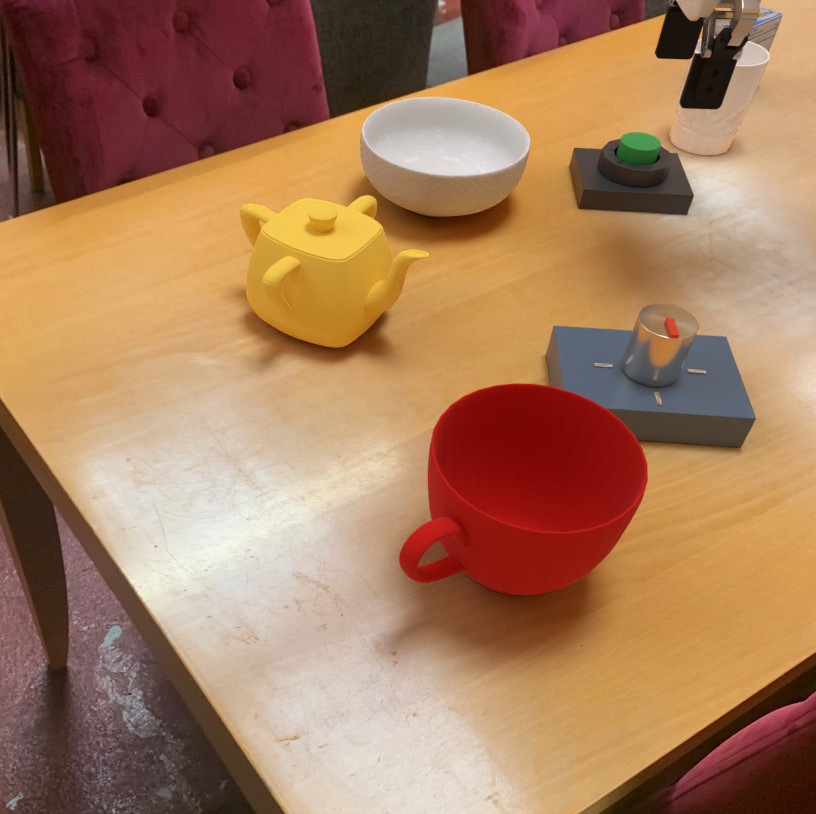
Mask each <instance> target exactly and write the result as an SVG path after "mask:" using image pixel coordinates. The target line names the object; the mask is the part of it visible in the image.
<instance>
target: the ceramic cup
mask: <svg viewBox="0 0 816 814" xmlns="http://www.w3.org/2000/svg"><path fill="white" fill-rule="evenodd" d="M433 427H434V428H433V430H432V434H431V438H430V439H431V440H430V443H429V450H428V458H427V459H428V460H427V494H428V504H429V505H428V507H429V515H430V518H431V520H429V521H427V522H424V524H422V525H420V526H419V527H417V528H416V529H415V530H414V531H413V532H412V533H411V534H410V535H409V536H408V538H407V539H406V540H405V542H404V543H403V545H402V547H401V549H400V551H399V555H398V561H399V566H400V568H401V570H402V572H403V573H404V574H405V575H406V576H407V577H408V578H409V579H411V580H412V581H414V582H416V583H419V584H431V583H434V582H439V581H441V580H445V579H447V578H450V577H452V576H455V575H457V574H459V573H461V572H463V573H464V574H465V575H467V576H468V577H469V578H470V579H472V580H473V581H474V582H476V583H478V584H480V585H482V586H483V587H485V588H487V589H489V590H492V591H493V592H497V593H499V594H504V595H505V594H506V595H509V596H510V595H512V596H513V595H515V596H517V595H518V596H535V595H541V594H543V595H544V594H547V593H551V592H554V591H557V590H561V589H565V588H566V587H568V586H570V585H572V584H573V583H576V582H578V581H579V580H581V579H582V578H584V577H586V576H587V575H588V574H590V573H591V572H592V571H593V570H594V569H595V568H597V566H599V565H600V564H601V562H603V561H604V560H605V559H606V558H607V557H608V556H609V554H610V553H611V552H612V551H613V549H614V548H615V547H616V545H617V544H618V543H619V541H620V539H621V537H622V536H623V535H624V533H625V531H626V530H627V528H628V527H629V525H630V523H631V521H632V520H633V518H634V516H635V514H636V513H637V511H638V509H639V507H640V505H641V503H642V501H643V499H644V497H645V496H644V495H645V492H646V488H647V485H648V482H649V472H648V468H649V467H648V466H649V465H648V461H647V458H646V454H645V451H644V449H643V447H642V445H641V444H640V442H639V440H637V439H636V437H635V435H634V434H633V433H632V432H631V431H630V429H629V428H628V427H627V426H626V425H625V424H624V423H623V422H622V421H621V420H620V419H619V418H617V417H616V416H615V415H614V414H613V413H611V412H610V411H609V410H607V409H606V408H604V407H602V406H601V405H599V404H597V403H595V402H594V401H592V400H590V399H588V398H585V397H583V396H580V395H578V394H576V393H573V392H570V391H566V390H563V389H559V388H556V387H551V386H550V385H544V384H539V383H538V384H537V383H523V382H522V383H519V382H518V383H517V382H514V383H513V382H512V383H503V384H495V385H492V386H487V387H483V388H480V389H476V390H474V391H472V392H470V393H468V394H465V395H463V396H461V397H460V398H459V399H457V400H456V401H454V402H453V403H451V404H450V405H449V406H448V407H447V408H446V409H445V410H444V412H442V414H441V415H440V416H439V418H438V420H437V421H436V424H435V426H433ZM438 542H440V545H441V546H442V548H443V550H444V551H445V553H446V554H447V555H446V556H444V557H441V558H439V559H437V560H434V561H431V562H428V563H424V564H420V565H419V563H420V561H421V559H422V557H423V556H424V555H425V553H426V552H427V551H428V550H429V549H430V548H432V546H434V545H435V544H436V543H438Z"/></svg>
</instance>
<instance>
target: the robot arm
mask: <svg viewBox="0 0 816 814" xmlns="http://www.w3.org/2000/svg"><path fill="white" fill-rule="evenodd" d="M761 3H762V0H669V5H668V6H667V8H666V12H665V15H664V19H663V23H662V26H661V30H660V33H659V36H658V39H657V42H656V43H657V44H656V47H655V51H654V55H655V57H656V58H657V59H658V60H687V61H689V59H691V58H692V57H693V55H694V57H693V60H692V63H691V66H690V69H689V73H688V76H687V79H686V82H685V85H684V88H683V91H682V95H681V98H680V101H679V103H680V105H681V107H682V108H685V109H713V110H715V109H719V108H720V107H721V105H722V103H723V100H724V97H725V94H726V91H727V89H728V86H729V83H730V80H731V77H732V75H733V72H734V69H735V66H736V63H737V60H738V59H739V58H740V57H741V55H742V51H743V47H744V46H745V44H746V42H748V40H749V39H748V36H750V31H751V29H752V28H753V26H754V24H755V23H756V21H757V19H758V16H759V12H760V7H759V5H761ZM716 9H730V10H716ZM716 25H730V26H729V28H727V27H724V28H723V29H722V30H721V32H720V33H719V34H718V35H717V36H716V37H715V38H714V36H715V27H716ZM700 36H701V39H702V41H701V50H700V53H695V54H694V52H695V49H696V46H697V43H698V40H699V39H700Z"/></svg>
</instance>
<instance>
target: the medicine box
mask: <svg viewBox="0 0 816 814" xmlns="http://www.w3.org/2000/svg"><path fill="white" fill-rule="evenodd" d="M759 7H760V12H759V16H758V19H757V21H756V23H755V24H754V26H753V28H752V29H751V31H750V36H748V39H749V40H748V41H751V42H753V43H756V44H758V45H760V46H762V47H764V48H765V49H766V50H767V51H768V52H769V53H770V50H771V47H772V44H773V42H774V41H775V37H776V35H777V32H778V30H779V28H780V24H781V21H782V19H783V16H784V14H783V13H782V12H780V11H777V10H775V9H773V8H770V7H767V6H764V5H761V4H760V5H759ZM729 26H730V25H716V27H715V36H717V35H718V34H719V33H720V32H721V30H722V29H723V28H724V27H727V28H729ZM715 36H714V37H715Z"/></svg>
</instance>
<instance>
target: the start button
mask: <svg viewBox="0 0 816 814" xmlns="http://www.w3.org/2000/svg"><path fill="white" fill-rule="evenodd" d="M619 139H620V143H619V146H618V150H617V153H616V156H617V157H618V158H619V159H621V160H622V161H625V162H628V163H631V164H635V165H649V164H654V163H655V162H656V159H657V156H658V153H659V150H660V146H662V142H661V140H660V139H659V138H658V137H656V136H655V135H653V134H649V133H647V132H642V131H641V132H639V131H631V132H630V131H629V132H627V133H623V134H622V136H621V137H620V138H619Z"/></svg>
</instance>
